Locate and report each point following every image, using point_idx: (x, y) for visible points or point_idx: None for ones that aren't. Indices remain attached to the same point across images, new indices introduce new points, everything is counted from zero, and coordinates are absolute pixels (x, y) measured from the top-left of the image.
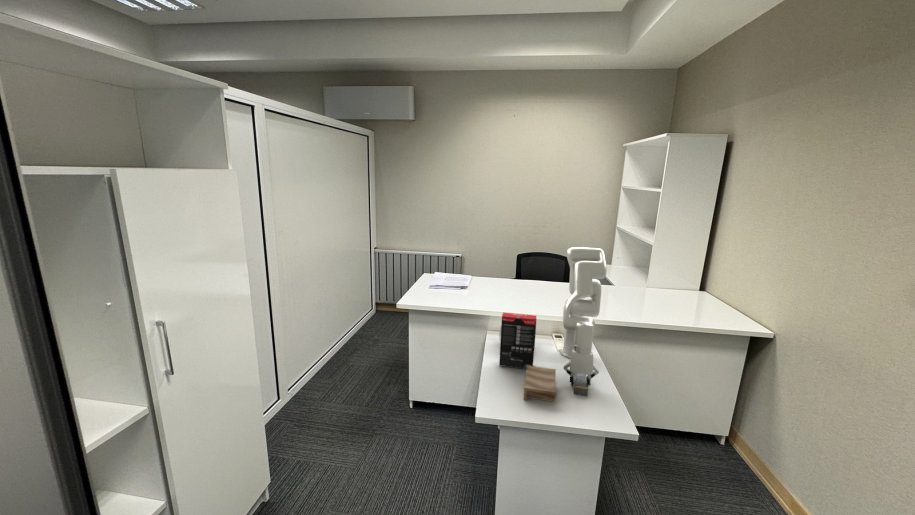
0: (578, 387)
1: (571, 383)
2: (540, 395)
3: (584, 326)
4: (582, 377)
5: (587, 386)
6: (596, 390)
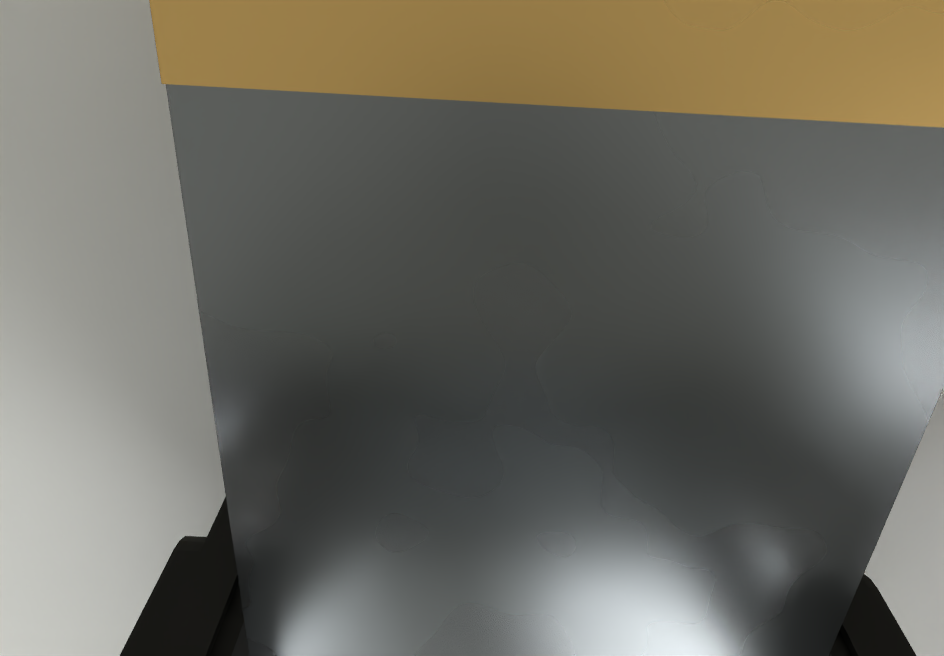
0: None
1: None
2: None
3: None
4: None
5: (207, 217)
6: (7, 372)
